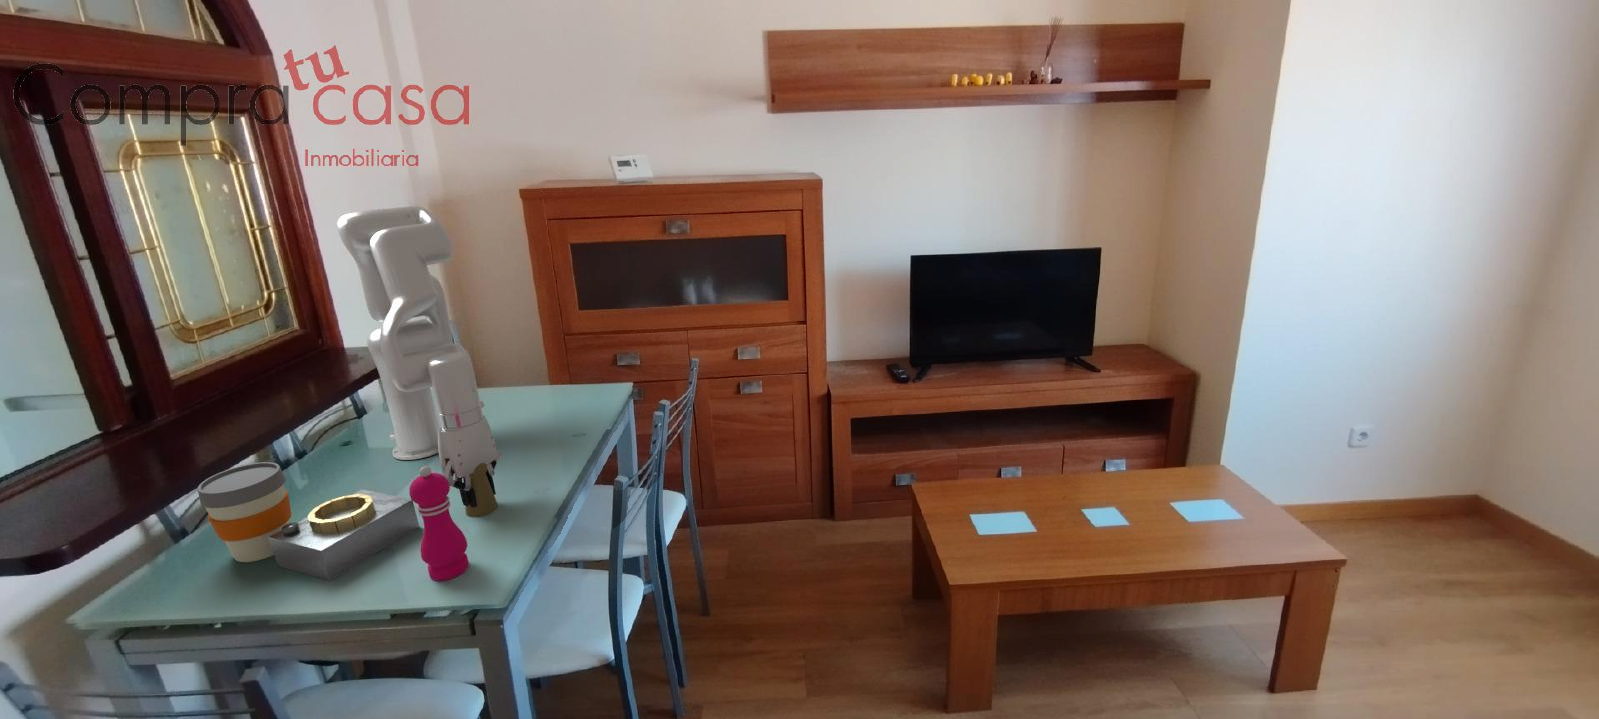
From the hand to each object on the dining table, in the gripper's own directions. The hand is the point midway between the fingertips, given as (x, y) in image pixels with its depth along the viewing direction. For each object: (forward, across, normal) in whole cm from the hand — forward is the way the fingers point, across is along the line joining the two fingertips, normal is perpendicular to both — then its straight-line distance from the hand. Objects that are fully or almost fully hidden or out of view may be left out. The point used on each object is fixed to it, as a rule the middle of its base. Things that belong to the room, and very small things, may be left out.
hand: (479, 499), depth 140 cm
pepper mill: (+2, +18, +11) cm, 21 cm away
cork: (+2, 0, 0) cm, 2 cm away
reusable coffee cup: (+2, +24, -30) cm, 38 cm away
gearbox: (+2, +18, -14) cm, 23 cm away
